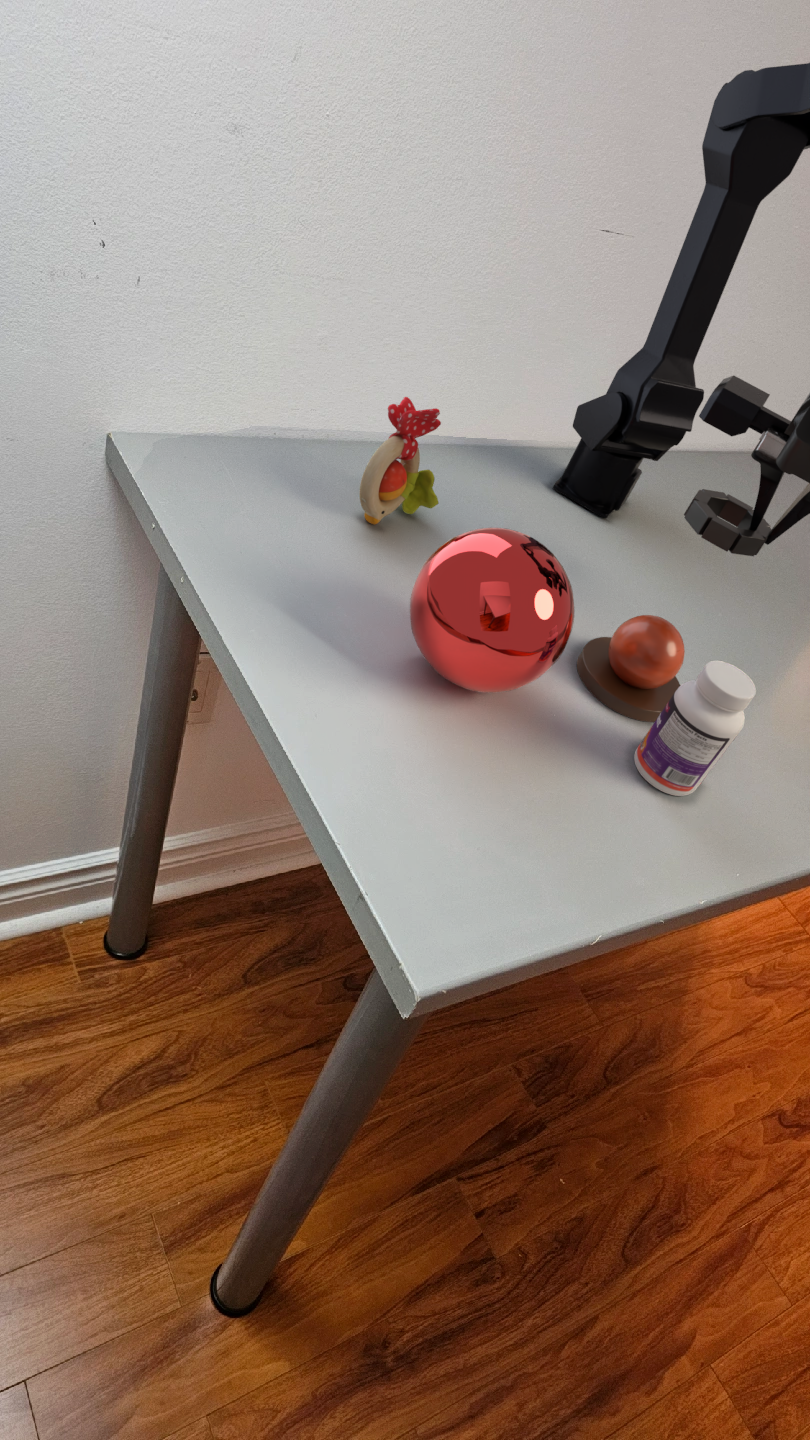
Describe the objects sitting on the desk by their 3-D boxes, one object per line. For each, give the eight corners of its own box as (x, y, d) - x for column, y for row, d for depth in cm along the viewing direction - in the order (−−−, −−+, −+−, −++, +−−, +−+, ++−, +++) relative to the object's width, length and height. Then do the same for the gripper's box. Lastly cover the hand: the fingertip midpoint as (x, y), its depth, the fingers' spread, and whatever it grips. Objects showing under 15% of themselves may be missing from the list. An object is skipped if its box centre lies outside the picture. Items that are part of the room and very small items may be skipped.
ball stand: (561, 678, 85) (598, 616, 81) (596, 633, 92) (631, 574, 88) (658, 738, 84) (700, 679, 79) (686, 688, 90) (726, 630, 86)
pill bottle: (656, 738, 84) (721, 646, 77) (708, 784, 81) (778, 694, 75) (618, 758, 80) (683, 663, 74) (671, 807, 78) (742, 713, 72)
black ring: (677, 524, 89) (687, 506, 88) (695, 498, 94) (705, 481, 93) (751, 565, 88) (762, 548, 87) (765, 537, 93) (776, 520, 92)
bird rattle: (392, 559, 93) (449, 497, 97) (406, 474, 83) (469, 410, 87) (335, 523, 94) (394, 463, 98) (342, 435, 84) (407, 373, 88)
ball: (364, 618, 82) (418, 487, 74) (492, 620, 88) (553, 500, 80) (424, 729, 74) (489, 598, 67) (558, 723, 80) (633, 602, 73)
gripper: (740, 332, 75) (637, 514, 85) (981, 459, 73) (847, 632, 82) (766, 306, 84) (670, 474, 94) (982, 418, 81) (861, 579, 91)
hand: (758, 537), depth 90 cm, fingers closed on black ring, 1 cm apart
